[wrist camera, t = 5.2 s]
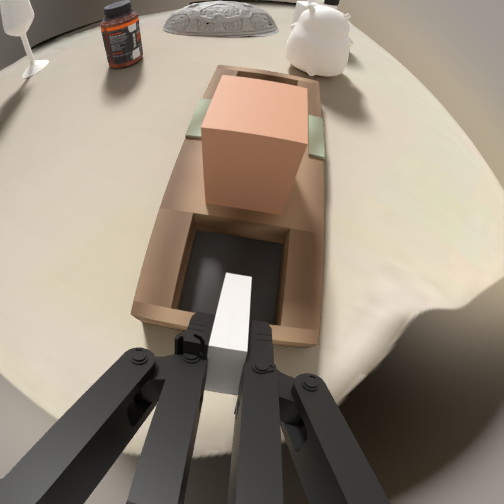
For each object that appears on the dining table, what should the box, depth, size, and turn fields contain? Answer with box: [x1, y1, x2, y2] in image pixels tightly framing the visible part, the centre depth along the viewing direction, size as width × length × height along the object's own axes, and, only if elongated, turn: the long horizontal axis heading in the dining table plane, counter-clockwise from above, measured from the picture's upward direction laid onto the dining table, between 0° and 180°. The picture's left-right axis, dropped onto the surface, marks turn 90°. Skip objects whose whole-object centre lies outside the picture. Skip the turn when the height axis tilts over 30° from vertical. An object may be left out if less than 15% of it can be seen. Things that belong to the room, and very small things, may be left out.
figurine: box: [285, 3, 353, 76], centre depth 32 cm, size 10×10×12 cm
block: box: [201, 75, 308, 215], centre depth 20 cm, size 6×6×8 cm
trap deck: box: [131, 65, 326, 348], centre depth 26 cm, size 13×31×3 cm, turn 172°
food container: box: [163, 1, 279, 37], centre depth 41 cm, size 16×25×7 cm, turn 91°
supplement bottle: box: [101, 0, 143, 68], centre depth 30 cm, size 6×6×11 cm
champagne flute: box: [0, 0, 49, 78], centre depth 25 cm, size 7×7×24 cm
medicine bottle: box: [292, 0, 339, 24], centre depth 39 cm, size 7×7×12 cm
